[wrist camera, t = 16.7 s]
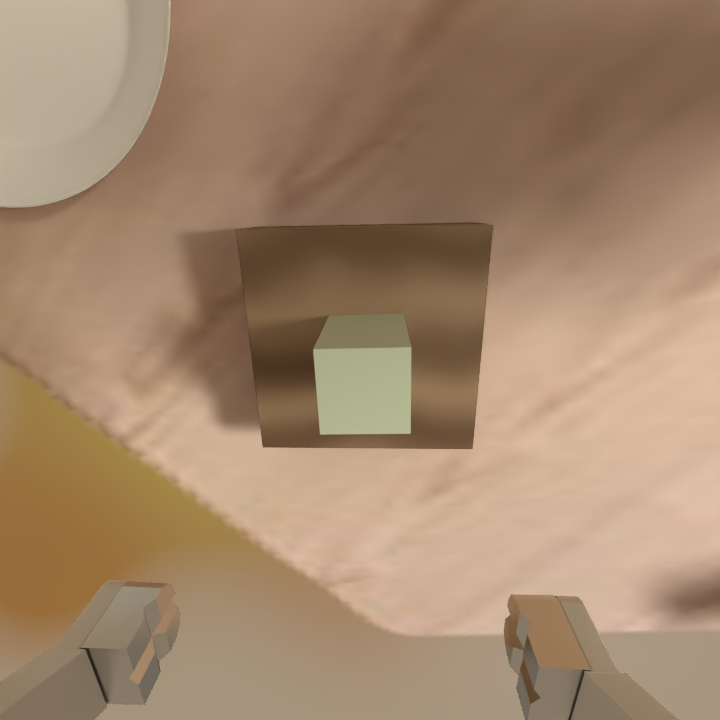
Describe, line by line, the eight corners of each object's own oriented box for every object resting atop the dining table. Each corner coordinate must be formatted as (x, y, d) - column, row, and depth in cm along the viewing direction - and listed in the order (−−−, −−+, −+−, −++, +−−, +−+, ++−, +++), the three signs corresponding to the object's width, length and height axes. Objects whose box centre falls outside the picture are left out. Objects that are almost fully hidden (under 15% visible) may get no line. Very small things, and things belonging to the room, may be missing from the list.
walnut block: (258, 226, 30) (236, 229, 25) (474, 222, 29) (493, 224, 25) (278, 416, 36) (262, 447, 31) (460, 416, 35) (472, 448, 30)
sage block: (329, 315, 27) (313, 349, 20) (403, 313, 27) (411, 347, 20) (333, 383, 29) (319, 434, 22) (403, 382, 28) (410, 433, 22)
